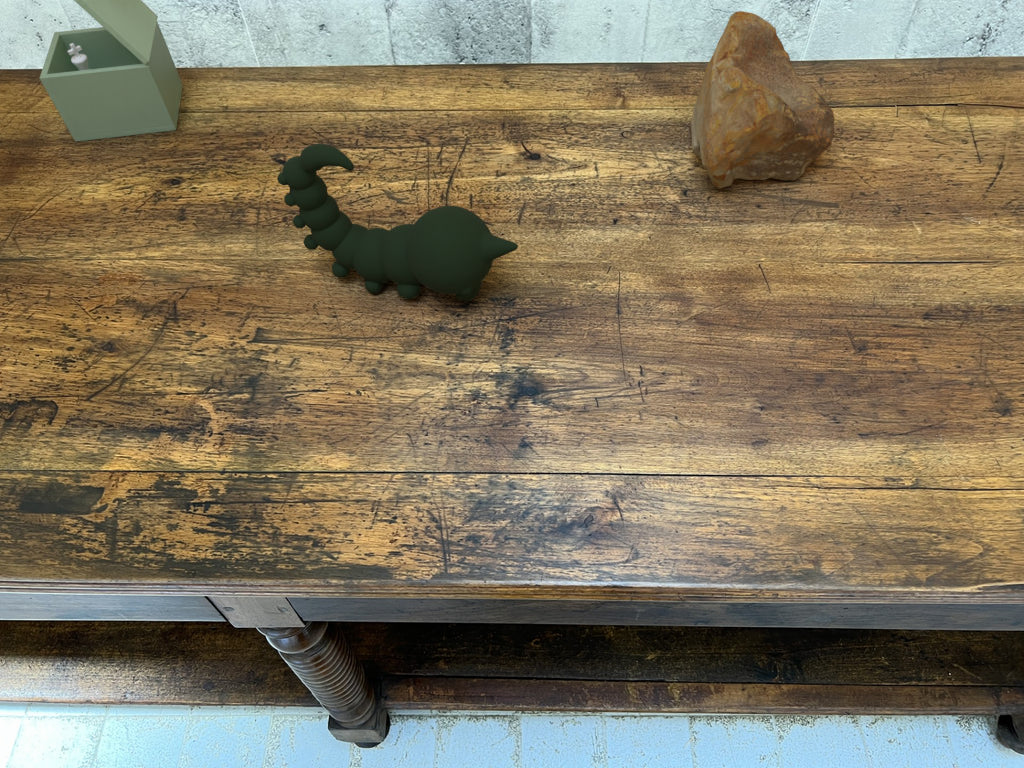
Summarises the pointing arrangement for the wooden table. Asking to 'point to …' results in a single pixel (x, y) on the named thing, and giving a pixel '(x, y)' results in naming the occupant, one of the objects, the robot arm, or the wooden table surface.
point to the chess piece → (78, 58)
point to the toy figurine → (391, 236)
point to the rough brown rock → (757, 109)
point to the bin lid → (125, 23)
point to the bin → (111, 86)
